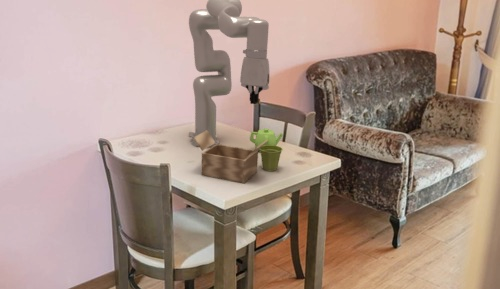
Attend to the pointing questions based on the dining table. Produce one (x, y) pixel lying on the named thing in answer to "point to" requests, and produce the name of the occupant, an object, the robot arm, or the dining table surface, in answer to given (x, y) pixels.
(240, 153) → the carton
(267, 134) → the teapot
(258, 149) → the flap
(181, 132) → the dining table surface
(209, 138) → the flap
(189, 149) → the dining table surface
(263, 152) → the plant pot
